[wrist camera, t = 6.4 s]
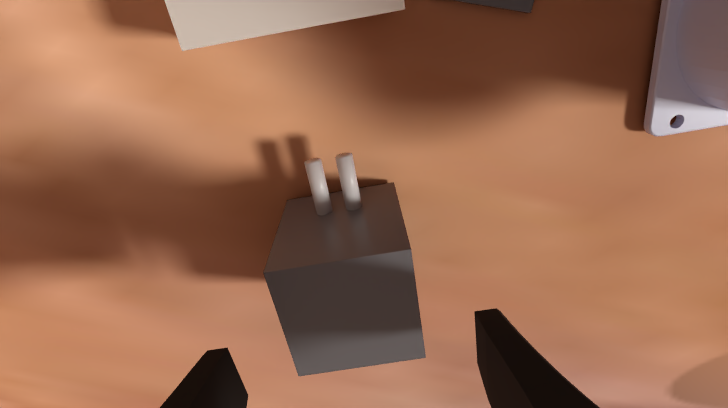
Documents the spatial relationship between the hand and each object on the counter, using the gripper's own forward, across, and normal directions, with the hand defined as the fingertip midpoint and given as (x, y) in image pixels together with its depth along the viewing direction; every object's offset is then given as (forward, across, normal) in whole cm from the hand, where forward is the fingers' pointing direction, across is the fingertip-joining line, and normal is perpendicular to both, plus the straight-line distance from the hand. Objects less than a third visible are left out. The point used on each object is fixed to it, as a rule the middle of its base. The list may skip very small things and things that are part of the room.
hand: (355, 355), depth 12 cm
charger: (+6, 0, -1) cm, 6 cm away
